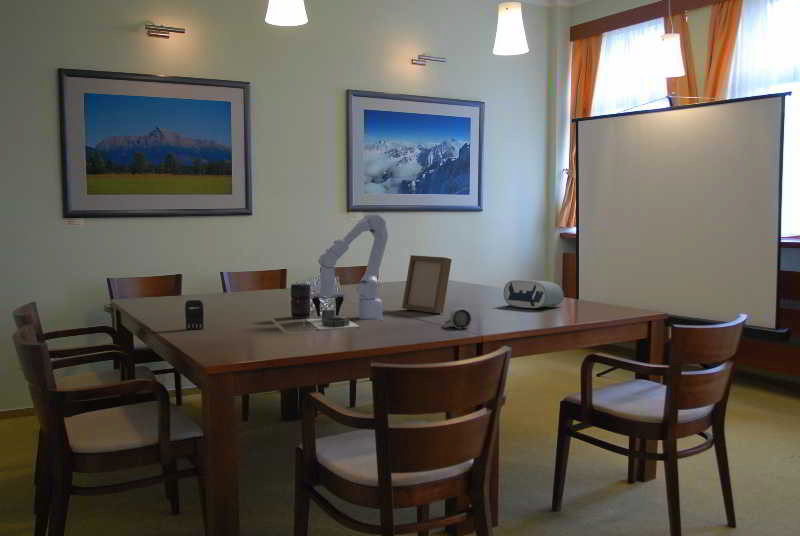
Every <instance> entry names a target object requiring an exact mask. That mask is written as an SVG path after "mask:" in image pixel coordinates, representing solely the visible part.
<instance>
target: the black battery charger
mask: <svg viewBox="0 0 800 536" xmlns="http://www.w3.org/2000/svg"><path fill="white" fill-rule="evenodd" d="M204 306H205V305H204V301H203V300H202V299H186V300H185V302H184V316H185V329H186V330H188V329H195V330H203V329H204V328H205V323H204V319H205V318H204V317H205V316H204V315H205V313H204V312H205V311H204V309H205V307H204Z"/></svg>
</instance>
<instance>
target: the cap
mask: <svg viewBox="0 0 800 536" xmlns="http://www.w3.org/2000/svg"><path fill="white" fill-rule="evenodd" d="M325 318H335V309H322V310H321V319H325Z"/></svg>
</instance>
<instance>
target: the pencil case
mask: <svg viewBox="0 0 800 536" xmlns="http://www.w3.org/2000/svg"><path fill="white" fill-rule="evenodd" d="M564 297H565V295H564V291H563V288H562V287H561V286H560V285H559V284H557V283H555V282H552V281H548V280H547V281H546V280H534V279H522V280H521V279H520V280H519V279H518V280H517V279H516V280H509V281H508V282H507V283H506V284H505V285H504V289H503V299H504V301H505V302H506V304H508V305H509V306H511V307H516V308H521V309H525V308H526V309H541V307H546V308H549V307H548V306H552V307H555V306H558V305H560V304H561V303H562V302H563V301H564Z"/></svg>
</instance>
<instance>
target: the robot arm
mask: <svg viewBox="0 0 800 536" xmlns="http://www.w3.org/2000/svg"><path fill="white" fill-rule="evenodd" d="M387 229H388V228H387V221H386V219H385V218H384V217H383V216H382V215H381V214H379V213H374V214H373V213H368V214H366V215H364V217H362V218H361V219H360V220H359V221H358V222H357V223H356V225H354V226H353V227H352V229H351V230H350V231H349V232H348V233H347V234H346V235H345V236H344V237H343V238H339V239H337V240H336V239H335V240H334V241H333V244H332V245H331V246H330V247H329V248H326V249H325V252H324V253H322V254H320V256H319V258H318V260H317V261H318V264H319V265H320V292H318V293H317V292H316V293H315V292H314V293H310V300H311V301H312V303H313V306H314V308H315V311H316V315H317V317H318V318H319V317H321V300H320V299H334V301H335V316H339V314H340V310H341V306H342V305H343V303H344V300H345V299H344V298H346V297H347V296H346V292H336V291H335V290H336V286H335V285H336V283H335V281H336V280H335V278H336V277H335V276H336V274H335V273H336V272H335V266H336V265H337V261H338V260H339V259H341V257H342V256H343V255H344V254H345V253H346V252H347V251H348V250H349V247H350V245H351V243H352V242H353V241H354V240H356V239H357V238H358V237H359V236H360V235H361V234H362V233H364V232H368V231H369V232H370V233H371V235H372V236H373V238H374V239H373V243H372V245H371V249H370V250H371V251H370V254H369V257H368V262H367V266H366V270H365V272H364V275H362V278H361V279H360V282H359V283H358V285H357V286H356V292H357V295H358V319H360V320H373V319H377V320H378V321H383V320H384V319H383V302H382V299H381V298H379V297H378V298H377V296H378V294H379V288H378V286H379V280H378V277H379V276H378V275H379V271H380V268H381V264H382V261H383V258H384V253H385V250H386V246H387V244H388V243H387V242H388V238H389V234H388V230H387Z"/></svg>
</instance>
